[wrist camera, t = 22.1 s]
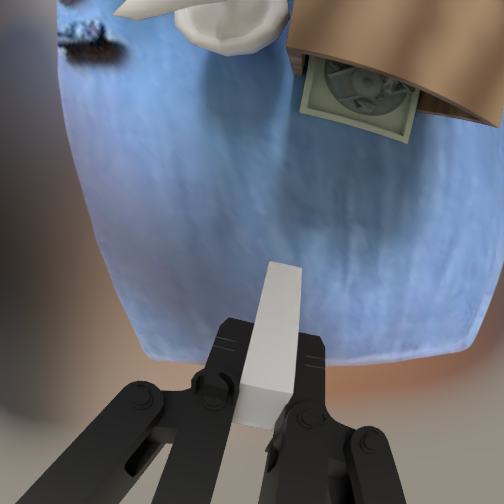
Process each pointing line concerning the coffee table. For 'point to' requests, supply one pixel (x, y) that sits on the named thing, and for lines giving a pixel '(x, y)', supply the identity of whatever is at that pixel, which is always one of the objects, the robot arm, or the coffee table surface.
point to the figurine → (364, 89)
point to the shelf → (413, 48)
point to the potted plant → (218, 21)
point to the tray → (326, 106)
